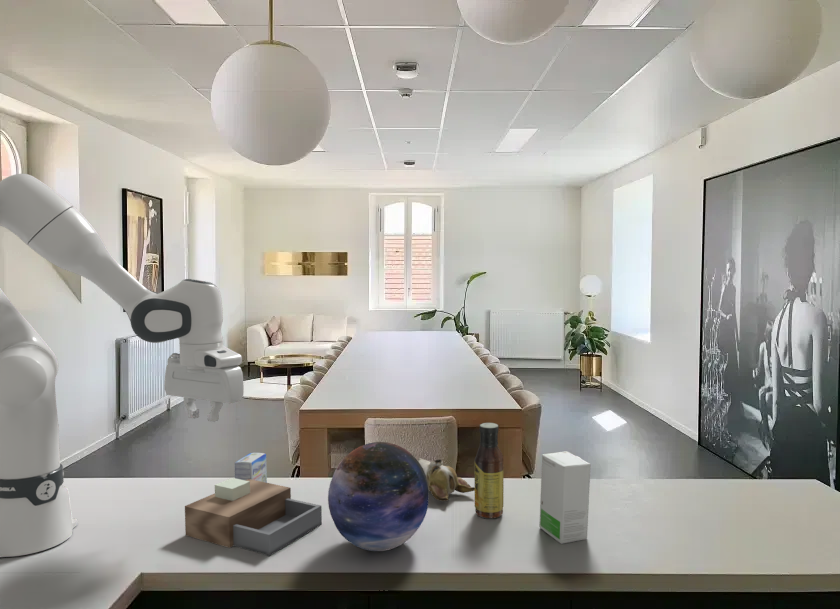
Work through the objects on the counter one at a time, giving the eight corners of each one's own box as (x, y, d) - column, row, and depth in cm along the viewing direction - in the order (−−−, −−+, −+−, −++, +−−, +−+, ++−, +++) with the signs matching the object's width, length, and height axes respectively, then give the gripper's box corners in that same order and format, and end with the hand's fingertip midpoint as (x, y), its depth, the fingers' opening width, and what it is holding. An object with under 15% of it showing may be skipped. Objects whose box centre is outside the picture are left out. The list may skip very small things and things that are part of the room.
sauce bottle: (478, 507, 139) (478, 419, 138) (506, 510, 137) (506, 421, 136) (470, 518, 133) (471, 426, 132) (499, 522, 131) (500, 429, 129)
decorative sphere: (307, 557, 115) (306, 451, 114) (363, 518, 133) (363, 426, 132) (398, 580, 107) (398, 465, 105) (445, 535, 125) (445, 436, 123)
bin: (233, 545, 120) (233, 525, 120) (288, 516, 134) (287, 498, 134) (269, 555, 116) (269, 534, 116) (321, 524, 130) (321, 505, 130)
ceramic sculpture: (435, 446, 155) (479, 464, 144) (433, 480, 156) (477, 500, 145) (402, 455, 148) (446, 475, 137) (401, 490, 149) (445, 512, 138)
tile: (214, 496, 129) (214, 484, 129) (232, 489, 134) (232, 477, 134) (232, 500, 127) (232, 488, 127) (250, 493, 131) (249, 481, 131)
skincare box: (538, 528, 128) (539, 453, 127) (566, 523, 130) (566, 450, 129) (562, 545, 120) (562, 465, 119) (590, 539, 122) (591, 461, 121)
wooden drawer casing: (185, 535, 125) (184, 506, 124) (249, 504, 141) (248, 478, 140) (229, 547, 119) (229, 517, 119) (291, 514, 135) (290, 487, 135)
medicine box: (252, 499, 144) (251, 462, 143) (234, 498, 145) (233, 461, 144) (267, 487, 152) (266, 452, 151) (250, 486, 153) (249, 451, 152)
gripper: (156, 354, 135) (157, 417, 135) (225, 360, 125) (226, 428, 126) (179, 350, 140) (181, 411, 141) (248, 356, 130) (249, 421, 131)
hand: (203, 419), depth 133 cm, fingers open, 4 cm apart
